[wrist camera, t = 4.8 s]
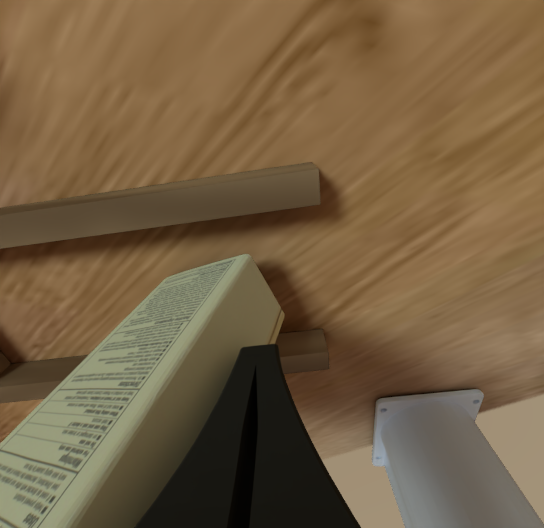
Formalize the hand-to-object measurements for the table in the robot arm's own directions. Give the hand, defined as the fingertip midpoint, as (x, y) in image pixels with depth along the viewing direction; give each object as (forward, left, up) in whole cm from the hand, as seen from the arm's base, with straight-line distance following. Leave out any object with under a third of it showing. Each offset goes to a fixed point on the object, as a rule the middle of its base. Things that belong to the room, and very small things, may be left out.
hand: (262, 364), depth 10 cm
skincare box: (0, +2, -6) cm, 6 cm away
